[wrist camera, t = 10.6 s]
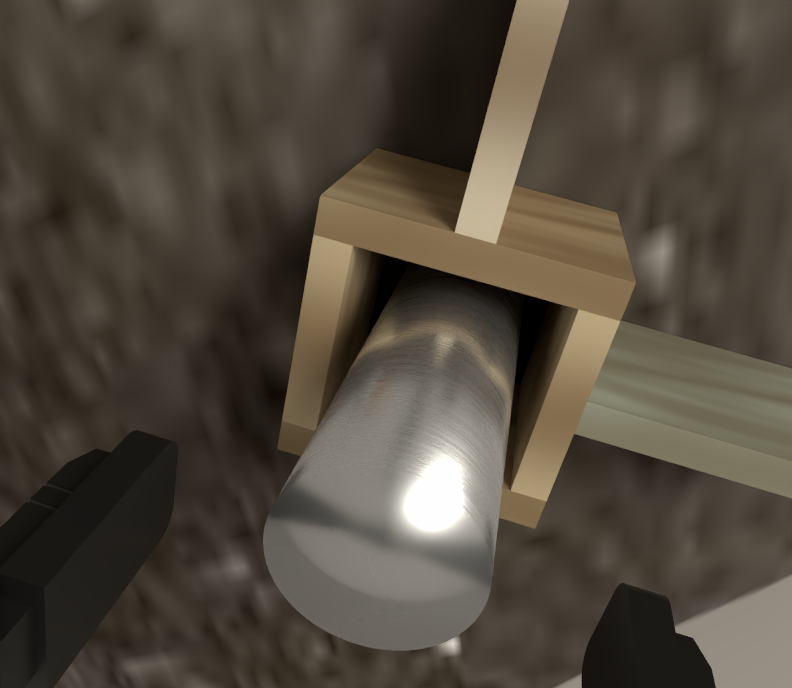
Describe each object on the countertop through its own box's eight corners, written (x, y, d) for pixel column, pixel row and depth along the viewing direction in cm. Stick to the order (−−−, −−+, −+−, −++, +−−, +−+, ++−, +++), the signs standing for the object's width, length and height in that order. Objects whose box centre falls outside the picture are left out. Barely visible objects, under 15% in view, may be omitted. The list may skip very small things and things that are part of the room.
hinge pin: (419, 217, 23) (279, 437, 11) (540, 251, 23) (521, 512, 11) (393, 326, 25) (250, 608, 13) (504, 358, 24) (457, 677, 13)
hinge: (438, -158, 18) (390, -219, 13) (1060, -14, 17) (1284, -18, 12) (334, 356, 26) (277, 449, 20) (766, 483, 24) (824, 618, 19)
